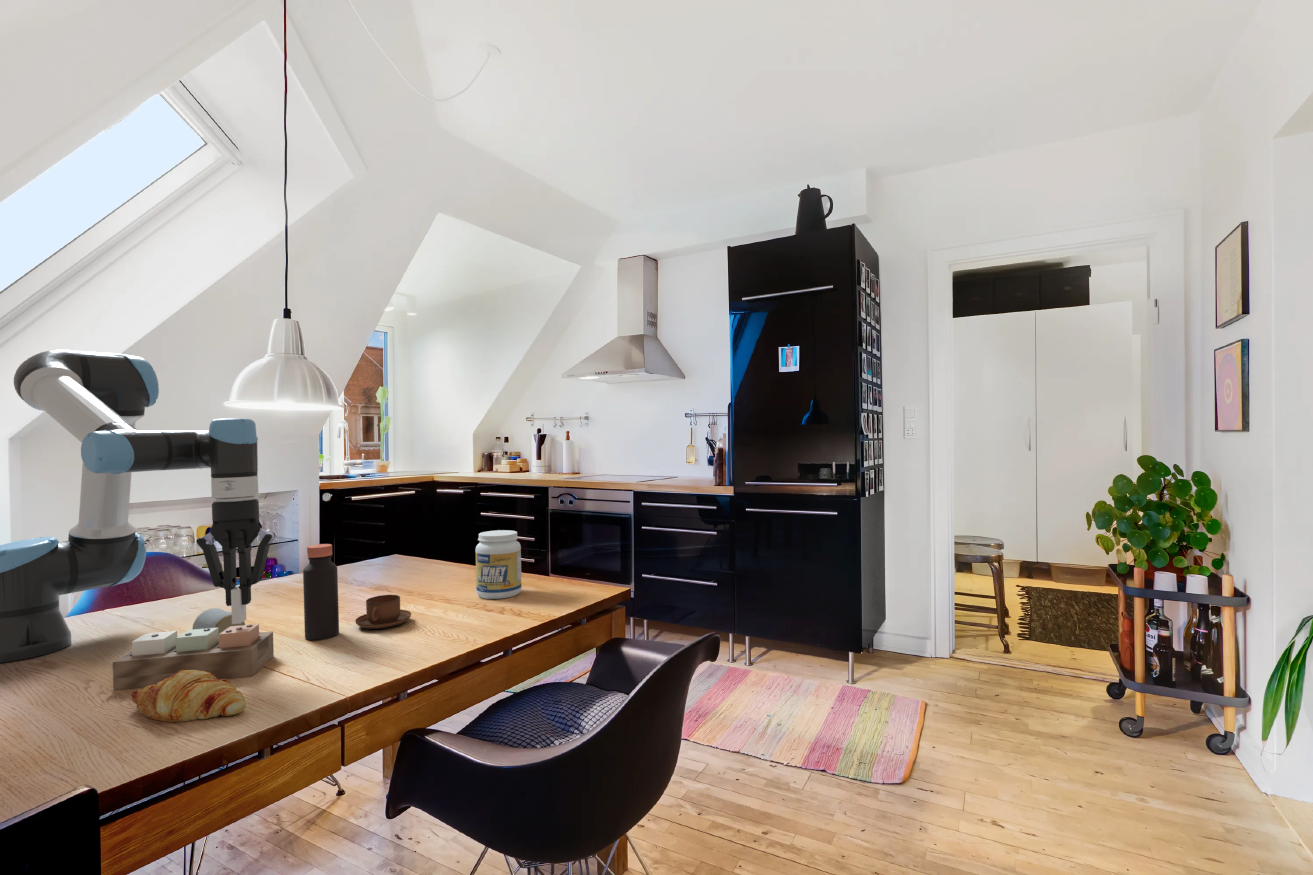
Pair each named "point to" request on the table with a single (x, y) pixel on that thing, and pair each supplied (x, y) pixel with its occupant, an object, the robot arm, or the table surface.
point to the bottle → (320, 594)
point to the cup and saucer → (383, 613)
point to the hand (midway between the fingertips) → (239, 621)
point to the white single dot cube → (154, 643)
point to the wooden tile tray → (193, 663)
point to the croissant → (189, 697)
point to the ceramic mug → (214, 620)
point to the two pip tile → (197, 639)
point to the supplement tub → (498, 565)
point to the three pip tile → (239, 636)
